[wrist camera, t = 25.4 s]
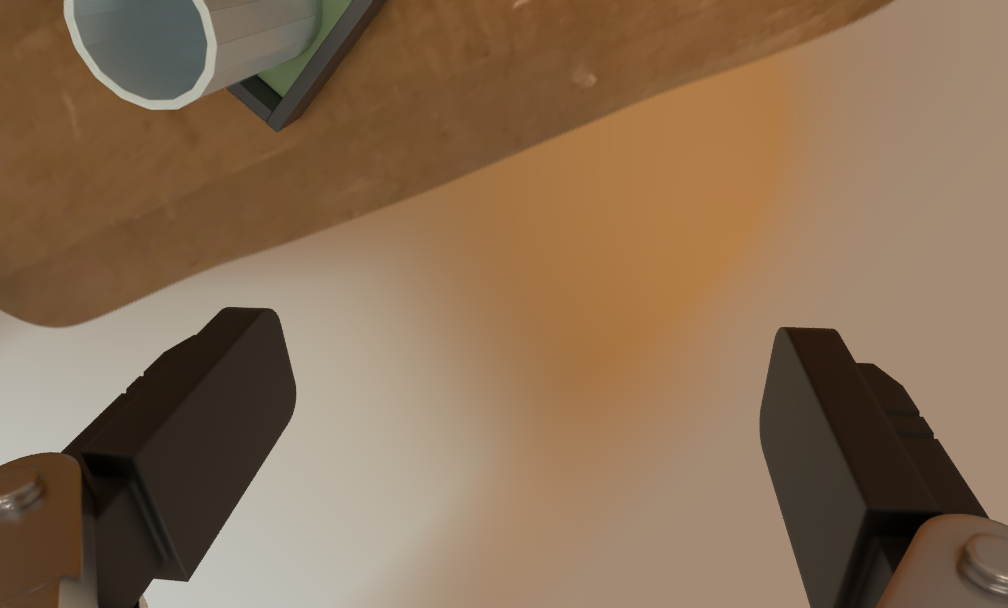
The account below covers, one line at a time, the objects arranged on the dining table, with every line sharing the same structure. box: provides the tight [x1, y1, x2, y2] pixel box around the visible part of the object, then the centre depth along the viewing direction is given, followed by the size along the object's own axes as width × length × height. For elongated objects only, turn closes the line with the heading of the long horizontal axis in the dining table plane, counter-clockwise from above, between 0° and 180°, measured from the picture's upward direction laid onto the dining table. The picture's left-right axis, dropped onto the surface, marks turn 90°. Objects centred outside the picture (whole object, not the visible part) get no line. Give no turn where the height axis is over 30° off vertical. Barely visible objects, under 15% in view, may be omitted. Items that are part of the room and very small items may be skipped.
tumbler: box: [64, 0, 322, 110], centre depth 30 cm, size 6×6×11 cm
